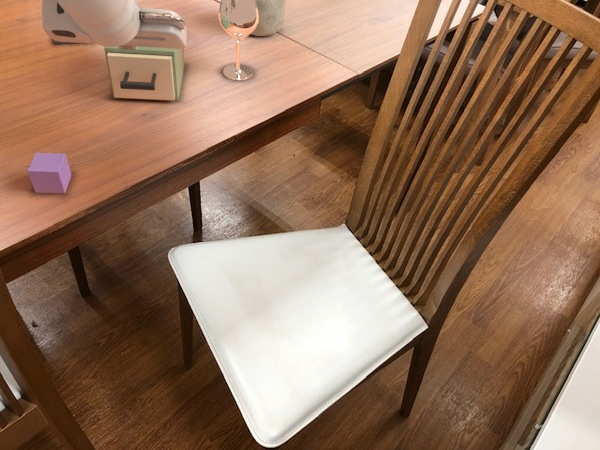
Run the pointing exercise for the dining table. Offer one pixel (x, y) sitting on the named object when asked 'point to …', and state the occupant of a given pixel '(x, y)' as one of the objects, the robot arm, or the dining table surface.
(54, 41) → the smartphone
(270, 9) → the planter
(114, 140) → the dining table surface
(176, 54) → the green drawer cabinet
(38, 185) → the purple cube
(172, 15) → the robot arm
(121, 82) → the cream drawer
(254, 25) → the wineglass
